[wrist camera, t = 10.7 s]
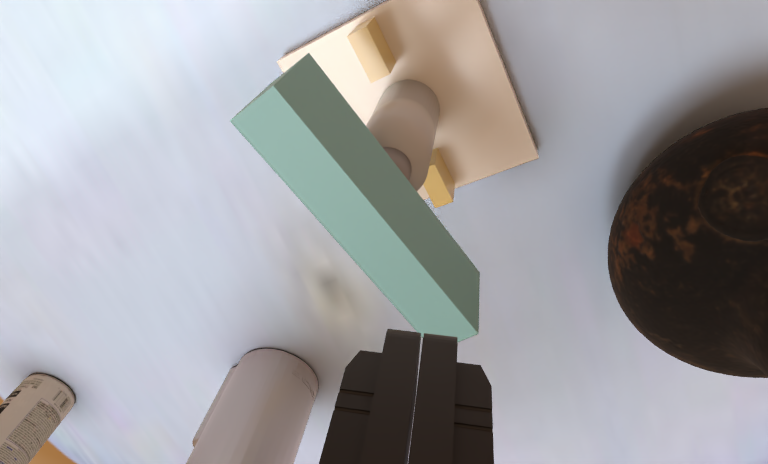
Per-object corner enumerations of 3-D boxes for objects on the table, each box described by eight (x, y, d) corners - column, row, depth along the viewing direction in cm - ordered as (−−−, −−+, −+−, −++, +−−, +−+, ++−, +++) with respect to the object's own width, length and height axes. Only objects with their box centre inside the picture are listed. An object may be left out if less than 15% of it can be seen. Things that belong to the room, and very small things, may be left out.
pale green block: (479, 252, 32) (478, 333, 26) (444, 269, 33) (434, 351, 27) (320, 42, 26) (273, 85, 21) (283, 71, 28) (229, 120, 22)
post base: (372, 210, 44) (345, 289, 35) (283, 55, 38) (223, 105, 30) (537, 149, 39) (551, 224, 30) (463, -41, 33) (454, -15, 24)
